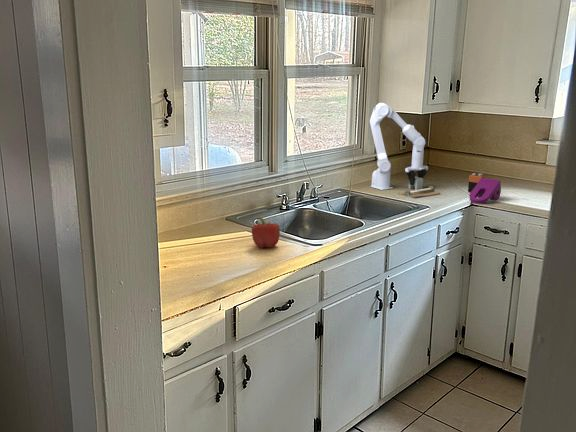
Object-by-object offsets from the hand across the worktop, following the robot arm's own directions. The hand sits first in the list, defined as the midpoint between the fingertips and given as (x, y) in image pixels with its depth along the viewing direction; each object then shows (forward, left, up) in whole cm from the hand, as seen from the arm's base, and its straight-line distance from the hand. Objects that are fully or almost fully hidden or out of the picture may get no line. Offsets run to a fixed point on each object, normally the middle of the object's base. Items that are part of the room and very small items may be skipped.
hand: (415, 184), depth 308 cm
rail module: (0, 0, -2) cm, 2 cm away
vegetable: (+42, -117, -3) cm, 124 cm away
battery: (+22, +21, -3) cm, 31 cm away
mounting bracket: (+35, +11, -3) cm, 37 cm away
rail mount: (+10, -7, -2) cm, 12 cm away
